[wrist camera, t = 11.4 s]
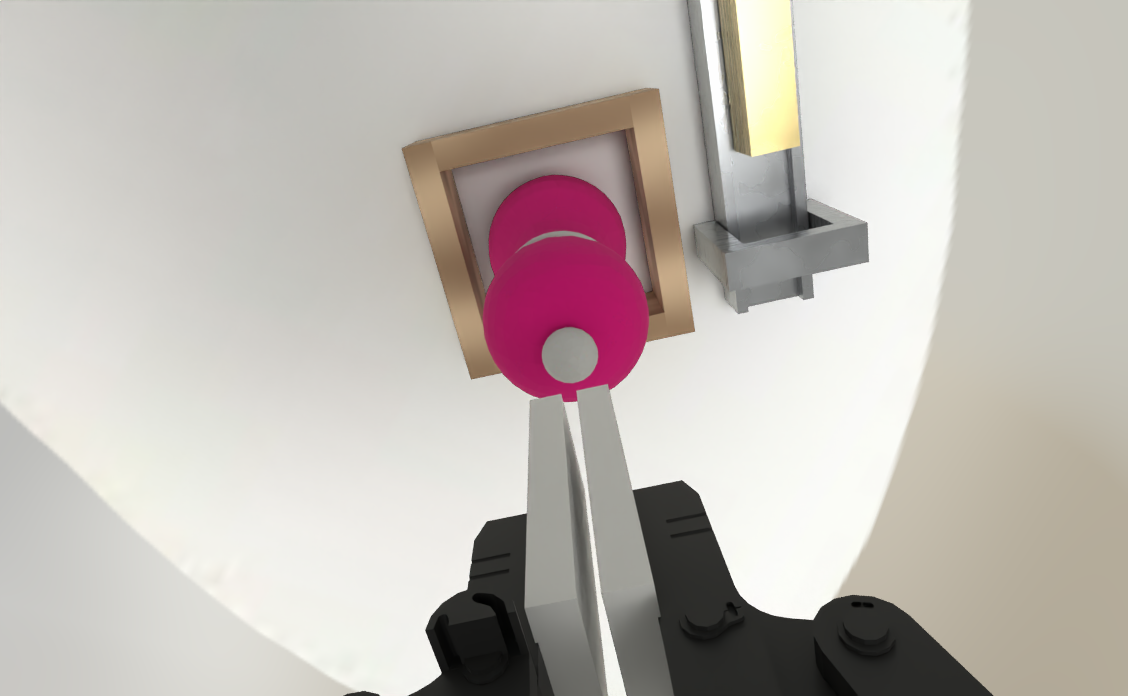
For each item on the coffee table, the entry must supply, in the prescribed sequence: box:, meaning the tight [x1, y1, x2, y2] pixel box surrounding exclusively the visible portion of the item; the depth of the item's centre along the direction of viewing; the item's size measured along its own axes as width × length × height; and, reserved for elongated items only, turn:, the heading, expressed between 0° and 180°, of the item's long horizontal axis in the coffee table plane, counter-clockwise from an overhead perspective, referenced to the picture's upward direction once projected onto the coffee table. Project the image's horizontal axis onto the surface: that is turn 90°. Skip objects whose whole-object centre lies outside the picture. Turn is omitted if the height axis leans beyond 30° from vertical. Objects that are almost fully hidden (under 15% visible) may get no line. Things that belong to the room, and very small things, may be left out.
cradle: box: [402, 88, 695, 379], centre depth 36 cm, size 13×13×4 cm
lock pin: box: [718, 0, 800, 157], centre depth 31 cm, size 11×3×3 cm, turn 12°
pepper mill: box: [483, 175, 649, 402], centre depth 29 cm, size 7×7×20 cm
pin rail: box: [687, 0, 869, 314], centre depth 33 cm, size 20×7×7 cm, turn 12°
